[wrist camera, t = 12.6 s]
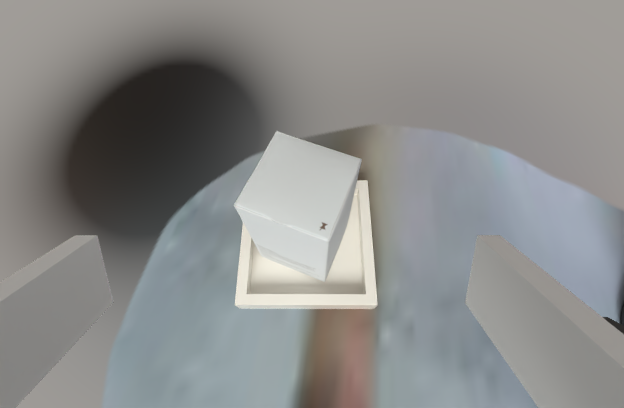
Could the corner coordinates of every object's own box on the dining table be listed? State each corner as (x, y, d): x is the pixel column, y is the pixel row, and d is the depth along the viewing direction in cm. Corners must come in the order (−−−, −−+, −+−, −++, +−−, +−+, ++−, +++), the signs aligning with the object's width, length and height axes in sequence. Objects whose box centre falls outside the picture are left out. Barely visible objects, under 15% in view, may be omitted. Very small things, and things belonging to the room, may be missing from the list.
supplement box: (350, 220, 43) (366, 157, 30) (325, 283, 40) (330, 244, 26) (287, 197, 45) (276, 126, 31) (258, 256, 41) (230, 205, 28)
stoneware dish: (364, 190, 46) (367, 180, 44) (373, 308, 39) (377, 305, 37) (251, 191, 46) (247, 180, 44) (240, 308, 40) (234, 304, 37)
